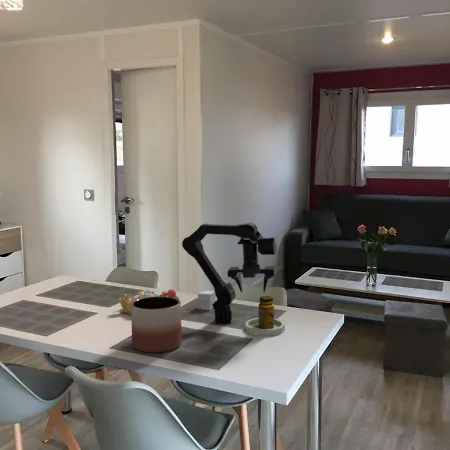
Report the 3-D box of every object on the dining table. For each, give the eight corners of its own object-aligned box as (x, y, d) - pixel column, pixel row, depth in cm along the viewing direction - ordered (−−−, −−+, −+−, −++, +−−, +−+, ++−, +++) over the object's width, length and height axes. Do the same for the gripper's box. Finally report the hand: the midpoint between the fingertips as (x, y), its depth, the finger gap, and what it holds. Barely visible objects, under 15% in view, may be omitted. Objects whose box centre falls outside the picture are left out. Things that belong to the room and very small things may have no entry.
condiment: (278, 328, 194) (278, 298, 193) (258, 331, 191) (257, 301, 190) (270, 323, 201) (269, 294, 199) (250, 326, 198) (250, 296, 196)
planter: (174, 355, 171) (173, 310, 169) (124, 352, 174) (123, 308, 172) (187, 337, 188) (186, 296, 186) (141, 335, 191) (140, 295, 189)
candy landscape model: (154, 321, 208) (153, 300, 207) (110, 314, 219) (109, 293, 218) (186, 306, 230) (186, 286, 229) (145, 300, 241) (144, 281, 240)
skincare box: (210, 310, 222) (210, 294, 221) (197, 309, 224) (197, 293, 223) (215, 306, 227) (215, 291, 227) (202, 305, 230) (202, 290, 229)
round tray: (247, 336, 188) (247, 330, 188) (243, 323, 203) (243, 318, 203) (287, 334, 189) (287, 329, 189) (280, 322, 204) (280, 317, 204)
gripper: (223, 260, 194) (226, 299, 197) (271, 259, 190) (274, 298, 193) (228, 253, 204) (231, 289, 207) (274, 252, 200) (276, 289, 203)
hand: (252, 292), depth 202 cm, fingers open, 9 cm apart
